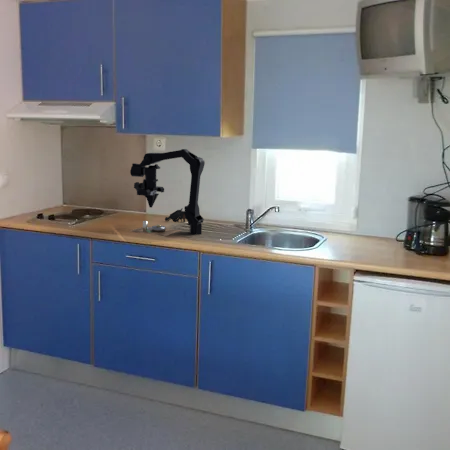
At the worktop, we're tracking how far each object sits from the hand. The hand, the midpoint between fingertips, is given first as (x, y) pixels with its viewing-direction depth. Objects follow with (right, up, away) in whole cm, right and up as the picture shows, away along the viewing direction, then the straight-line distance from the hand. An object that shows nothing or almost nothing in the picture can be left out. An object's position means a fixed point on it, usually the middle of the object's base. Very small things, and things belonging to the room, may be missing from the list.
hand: (150, 207), depth 280 cm
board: (+3, -13, -1) cm, 14 cm away
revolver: (+13, -9, +27) cm, 32 cm away
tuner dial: (+2, -12, -3) cm, 13 cm away
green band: (0, -14, -4) cm, 14 cm away
